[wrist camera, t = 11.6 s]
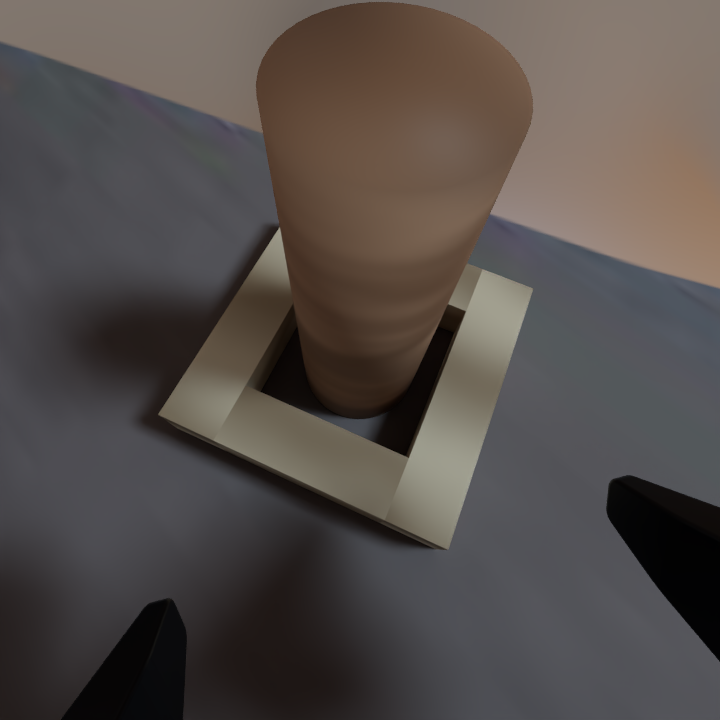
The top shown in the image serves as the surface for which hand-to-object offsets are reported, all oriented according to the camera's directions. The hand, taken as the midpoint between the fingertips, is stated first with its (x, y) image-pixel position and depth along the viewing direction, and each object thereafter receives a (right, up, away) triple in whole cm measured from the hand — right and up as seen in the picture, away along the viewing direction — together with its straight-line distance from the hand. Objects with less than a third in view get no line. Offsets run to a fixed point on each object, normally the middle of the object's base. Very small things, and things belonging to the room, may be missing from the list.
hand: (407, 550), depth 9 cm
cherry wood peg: (-1, +3, +10) cm, 11 cm away
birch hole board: (-1, +3, +10) cm, 11 cm away
